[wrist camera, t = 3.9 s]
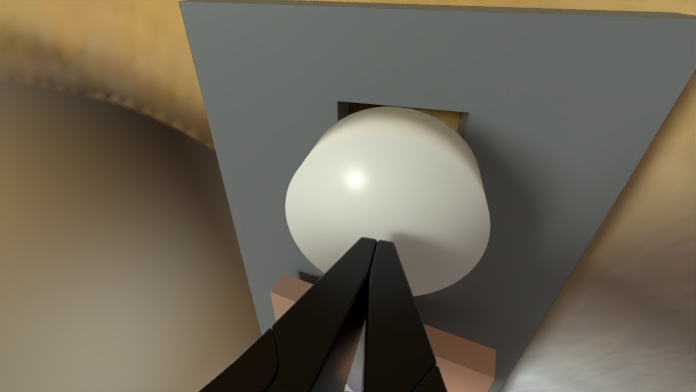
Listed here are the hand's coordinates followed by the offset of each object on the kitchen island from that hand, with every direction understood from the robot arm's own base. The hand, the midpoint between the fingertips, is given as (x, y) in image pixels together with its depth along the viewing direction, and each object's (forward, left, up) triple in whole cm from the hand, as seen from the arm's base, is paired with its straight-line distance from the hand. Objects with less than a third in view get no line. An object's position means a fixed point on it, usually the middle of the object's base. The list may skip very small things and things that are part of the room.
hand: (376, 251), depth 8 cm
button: (0, 0, -5) cm, 5 cm away
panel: (0, +8, -7) cm, 11 cm away
